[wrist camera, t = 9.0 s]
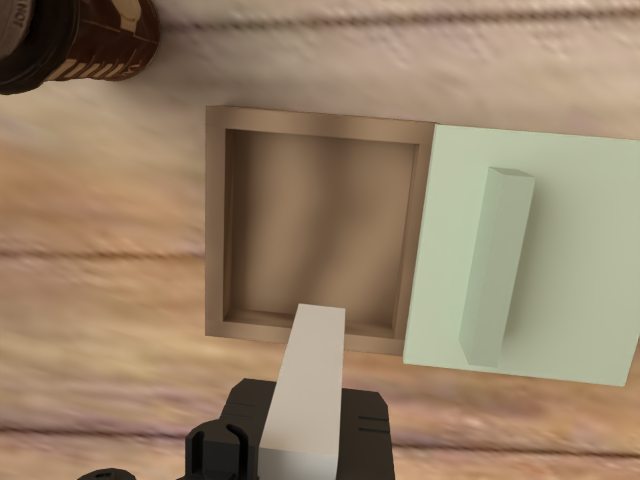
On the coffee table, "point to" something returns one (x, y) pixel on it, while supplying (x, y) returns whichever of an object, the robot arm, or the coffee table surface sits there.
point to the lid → (528, 256)
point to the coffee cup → (74, 41)
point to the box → (312, 222)
